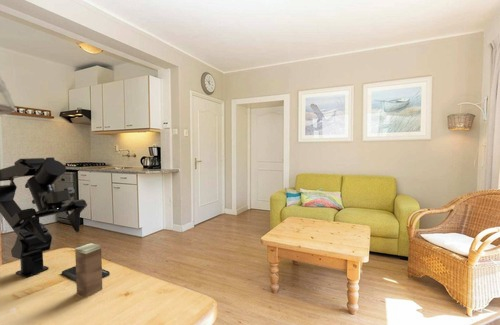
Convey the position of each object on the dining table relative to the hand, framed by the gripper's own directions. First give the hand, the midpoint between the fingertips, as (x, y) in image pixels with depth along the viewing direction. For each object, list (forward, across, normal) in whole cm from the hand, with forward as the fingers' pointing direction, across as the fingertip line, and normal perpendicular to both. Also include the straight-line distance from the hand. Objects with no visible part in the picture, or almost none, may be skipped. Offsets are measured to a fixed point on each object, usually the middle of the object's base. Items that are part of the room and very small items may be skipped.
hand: (62, 236), depth 77 cm
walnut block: (+18, 0, -2) cm, 19 cm away
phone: (+13, +6, +8) cm, 16 cm away
